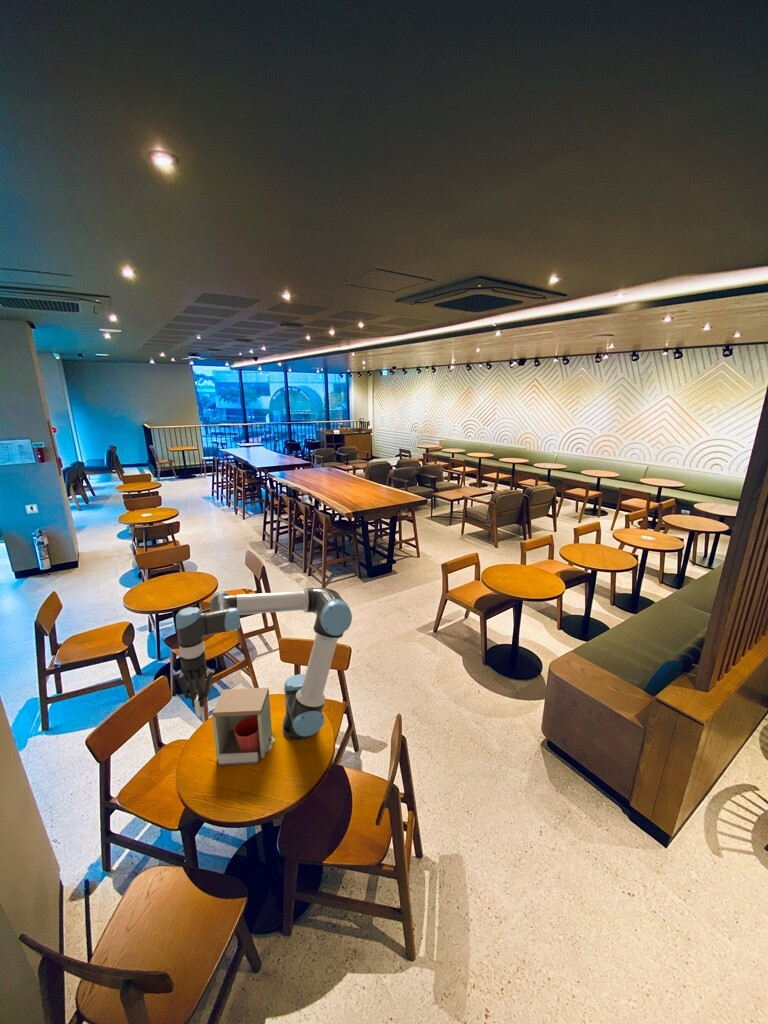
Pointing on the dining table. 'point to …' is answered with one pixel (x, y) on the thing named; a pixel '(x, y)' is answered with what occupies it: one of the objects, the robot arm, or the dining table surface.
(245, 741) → the flower pot
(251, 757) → the tray
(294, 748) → the dining table surface
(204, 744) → the dining table surface
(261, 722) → the beige open box
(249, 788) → the dining table surface
